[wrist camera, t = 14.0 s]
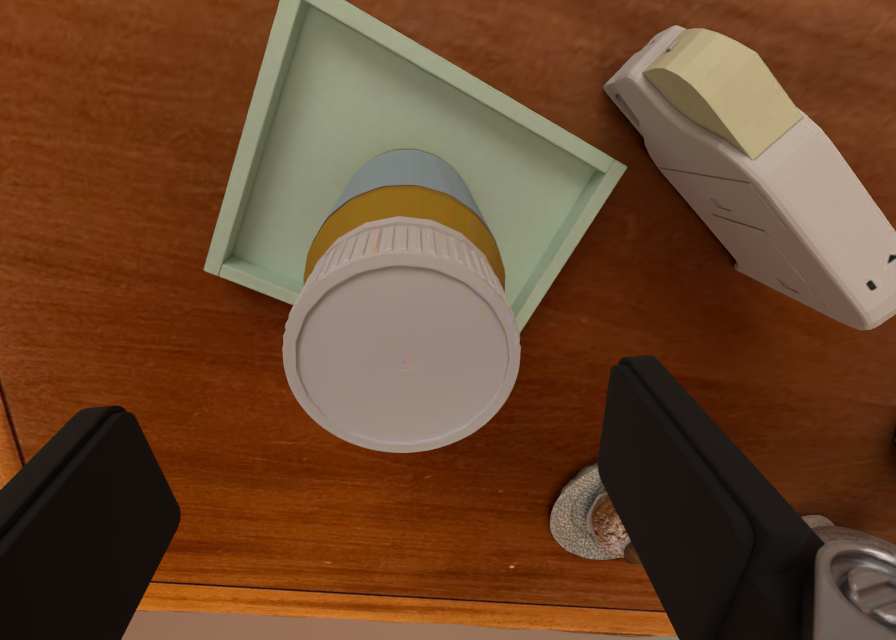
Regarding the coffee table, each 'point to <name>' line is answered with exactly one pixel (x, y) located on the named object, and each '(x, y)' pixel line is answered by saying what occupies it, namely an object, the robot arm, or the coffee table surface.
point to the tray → (387, 128)
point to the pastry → (590, 520)
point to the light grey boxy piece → (760, 174)
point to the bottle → (403, 311)
